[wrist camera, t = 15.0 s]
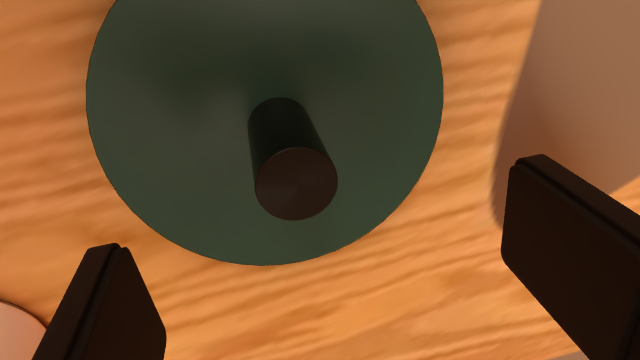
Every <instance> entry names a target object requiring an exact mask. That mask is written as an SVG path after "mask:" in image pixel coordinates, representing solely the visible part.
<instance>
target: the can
mask: <svg viewBox="0 0 640 360" xmlns="http://www.w3.org/2000/svg"><path fill="white" fill-rule="evenodd" d="M45 332H46V329H45V327H44V326H43V324H42V323H41V322H40V321H39V320H38V319H37V318H36V317H34V316H33V315H32V314H30V313H29V312H27V311H26V310H24V309H22V308H20V307H18V306H15V305H13V304H10V303H7V302H4V301H0V360H31V359H32V357H33V355H34V353H35V351H36V350H37V348H38V346H39V344H40V342H41V340H42V338H43V336H44V334H45Z"/></svg>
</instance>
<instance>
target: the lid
mask: <svg viewBox="0 0 640 360" xmlns="http://www.w3.org/2000/svg"><path fill="white" fill-rule="evenodd" d="M442 109H443V76H442V68H441V61H440V56H439V53H438V49H437V45H436V42H435V38H434V36H433V33H432V31H431V29H430V26H429V24H428V22H427V19H426V17H425V15H424V14H423V12H422V10H421V9H420V7H419V5H418V4H417V2H416V0H116V1H115V3H114V4H113V6H112V7H111V8H110V10H109V12H108V14H107V16H106V18H105V20H104V22H103V24H102V26H101V28H100V30H99V32H98V34H97V37H96V40H95V44H94V47H93V50H92V53H91V56H90V60H89V67H88V73H87V80H86V112H87V119H88V125H89V132H90V136H91V139H92V142H93V145H94V149H95V152H96V155H97V157H98V159H99V162H100V164H101V166H102V168H103V170H104V172H105V174H106V176H107V178H108V180H109V181H110V183H111V184H112V186H113V187H114V189H115V190H116V192H117V193H118V195H119V196H120V197H121V199H122V200H123V201H124V202H125V203H126V204H127V206H128V207H129V208H130V209H131V210H132V211H133V212H134V213H135V214H136V215H137V216H138V217H139V218H140V219H141V220H142V221H143V222H145V223H146V224H147V225H148V226H149V227H150V228H152V229H153V230H155V231H156V232H158V233H159V234H160V235H162V236H163V237H165V238H166V239H168V240H170V241H172V242H173V243H175V244H177V245H179V246H181V247H183V248H185V249H187V250H190V251H192V252H194V253H197V254H199V255H202V256H205V257H209V258H212V259H216V260H219V261H223V262H229V263H235V264H241V265H257V266H265V265H283V264H289V263H296V262H301V261H305V260H309V259H313V258H317V257H320V256H323V255H325V254H328V253H331V252H334V251H336V250H338V249H340V248H342V247H344V246H346V245H349V244H351V243H353V242H354V241H356V240H357V239H359V238H361V237H362V236H364V235H366V234H367V233H369V232H370V231H371V230H372V229H374V228H375V227H376V226H378V225H379V224H380V223H382V222H383V221H384V220H385V219H386V218H387V217H388V216H389V215H390V214H391V213H392V212H393V211H394V210H396V209H397V207H398V206H399V205H400V204H401V203H402V202H403V200H404V199H405V198H406V197H407V196H408V194H409V193H410V192H411V190H412V189H413V187H414V186H415V184H416V183H417V181H418V180H419V178H420V176H421V175H422V173H423V171H424V169H425V167H426V165H427V163H428V161H429V159H430V156H431V153H432V151H433V148H434V146H435V143H436V139H437V135H438V132H439V128H440V124H441V116H442Z"/></svg>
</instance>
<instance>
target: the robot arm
mask: <svg viewBox="0 0 640 360" xmlns="http://www.w3.org/2000/svg"><path fill="white" fill-rule="evenodd" d="M501 255H502V258H503V261H504V262H505V264H506V265H507V266H508V267H509V269H510V270H511V271H512V272H513V273H514V274H515V275H516V276H517V278H518V279H519V280H520V281H521V282H522V283H523V284H524V286H525V287H526V288H527V289H528V290H529V291H530V292H531V294H532V295H533V296H534V297H535V298H536V299H537V300H538V302H539V303H540V304H541V305H542V306H543V307H544V308H545V309H546V311H547V312H548V313H549V314H550V315H551V316H552V317H553V319H554V320H555V321H556V322H557V323H558V324H559V325H560V327H561V328H562V329H563V330H564V331H565V332H566V333H567V334H568V336H569V337H570V338H571V339H572V340H573V341H574V342H575V344H576V345H577V346H578V347H579V348H580V349H581V350H582V352H583V353H584V354H585V355H586V356H587V357H588V358H589V360H640V215H638V214H637V213H635V212H633V211H632V210H630V209H629V208H627V207H626V206H624V205H623V204H621V203H619V202H618V201H616V200H615V199H613V198H612V197H610V196H608V195H607V194H605V193H604V192H602V191H600V190H599V189H598V188H596V187H594V186H593V185H591V184H590V183H588V182H586V181H585V180H584V179H582V178H580V177H579V176H577V175H575V174H574V173H573V172H571V171H569V170H568V169H566V168H565V167H563V166H562V165H560V164H559V163H557V162H555V161H554V160H552V159H551V158H549V157H548V156H546V155H544V154H539V155H534V156H529V157H524V158H519V159H518V160H517V161H516V163H515V165H514V166H512V167H511V168H510V171H509V179H508V188H507V197H506V206H505V216H504V225H503V234H502V243H501ZM165 348H166V331H165V327H164V325H163V323H162V320H161V318H160V316H159V314H158V312H157V309H156V307H155V305H154V303H153V301H152V298H151V296H150V294H149V292H148V290H147V287H146V285H145V283H144V281H143V279H142V276H141V274H140V272H139V270H138V268H137V265H136V263H135V261H134V259H133V257H132V254H131V252H130V250H129V249H128V248H127V247H123V248H121V247H120V246H119V245H118V244H117V243H111V244H107V245H102V246H97V247H92V248H89V249H88V250H87V251H86V253H85V255H84V257H83V259H82V261H81V263H80V265H79V267H78V269H77V271H76V273H75V275H74V277H73V279H72V281H71V283H70V285H69V287H68V289H67V291H66V293H65V295H64V297H63V299H62V301H61V303H60V305H59V307H58V309H57V311H56V313H55V315H54V317H53V319H52V321H51V322H50V324H49V326H48V328H47V330H46V332H45V334H44V336H43V338H42V340H41V342H40V344H39V346H38V348H37V350H36V351H35V353H34V355H33V357H32V359H31V360H163V359H164V353H165Z"/></svg>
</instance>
